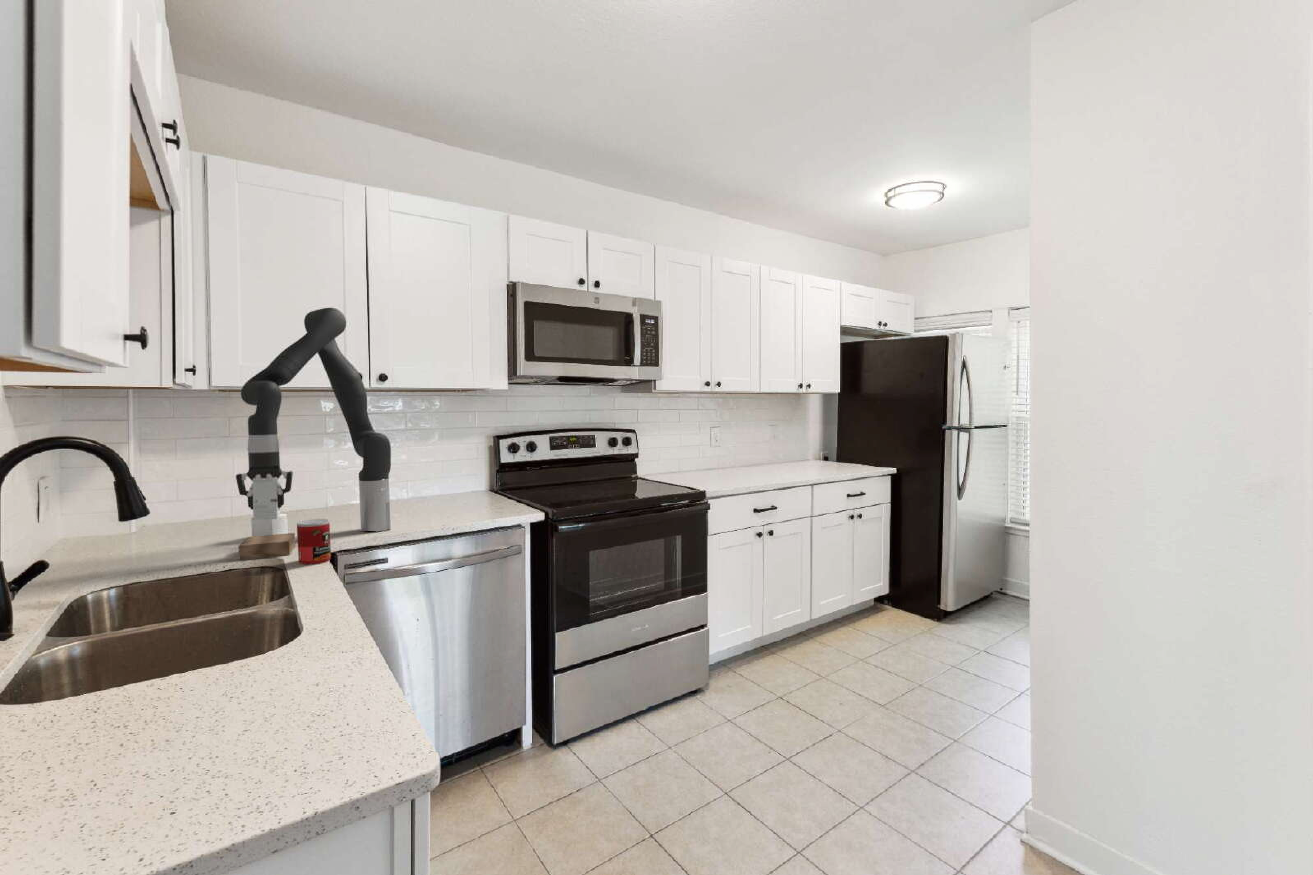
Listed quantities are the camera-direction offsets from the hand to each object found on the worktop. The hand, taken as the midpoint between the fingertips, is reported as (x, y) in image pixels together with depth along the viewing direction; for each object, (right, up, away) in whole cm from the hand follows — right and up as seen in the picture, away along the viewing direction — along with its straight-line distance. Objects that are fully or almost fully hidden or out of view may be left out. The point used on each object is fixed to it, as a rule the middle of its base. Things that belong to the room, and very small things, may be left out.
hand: (266, 508), depth 174 cm
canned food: (+19, -14, -9) cm, 25 cm away
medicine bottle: (-12, -12, +20) cm, 27 cm away
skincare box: (0, -3, 0) cm, 3 cm away
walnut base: (0, -13, +1) cm, 13 cm away
